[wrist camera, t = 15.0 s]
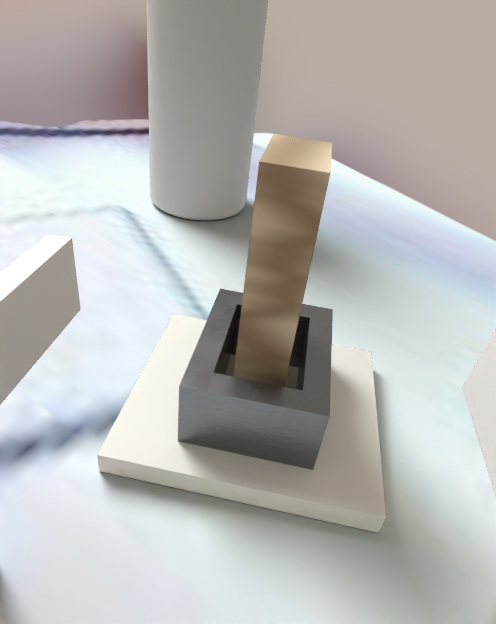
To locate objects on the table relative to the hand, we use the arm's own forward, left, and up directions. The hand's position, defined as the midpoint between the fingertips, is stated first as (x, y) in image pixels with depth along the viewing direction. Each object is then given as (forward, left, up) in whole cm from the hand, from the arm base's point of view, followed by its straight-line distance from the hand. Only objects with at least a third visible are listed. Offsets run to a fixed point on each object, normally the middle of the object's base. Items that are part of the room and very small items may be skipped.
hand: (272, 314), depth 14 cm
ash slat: (0, +10, -14) cm, 17 cm away
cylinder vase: (-13, +44, -15) cm, 48 cm away
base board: (0, +10, -15) cm, 18 cm away
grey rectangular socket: (0, +10, -14) cm, 17 cm away
